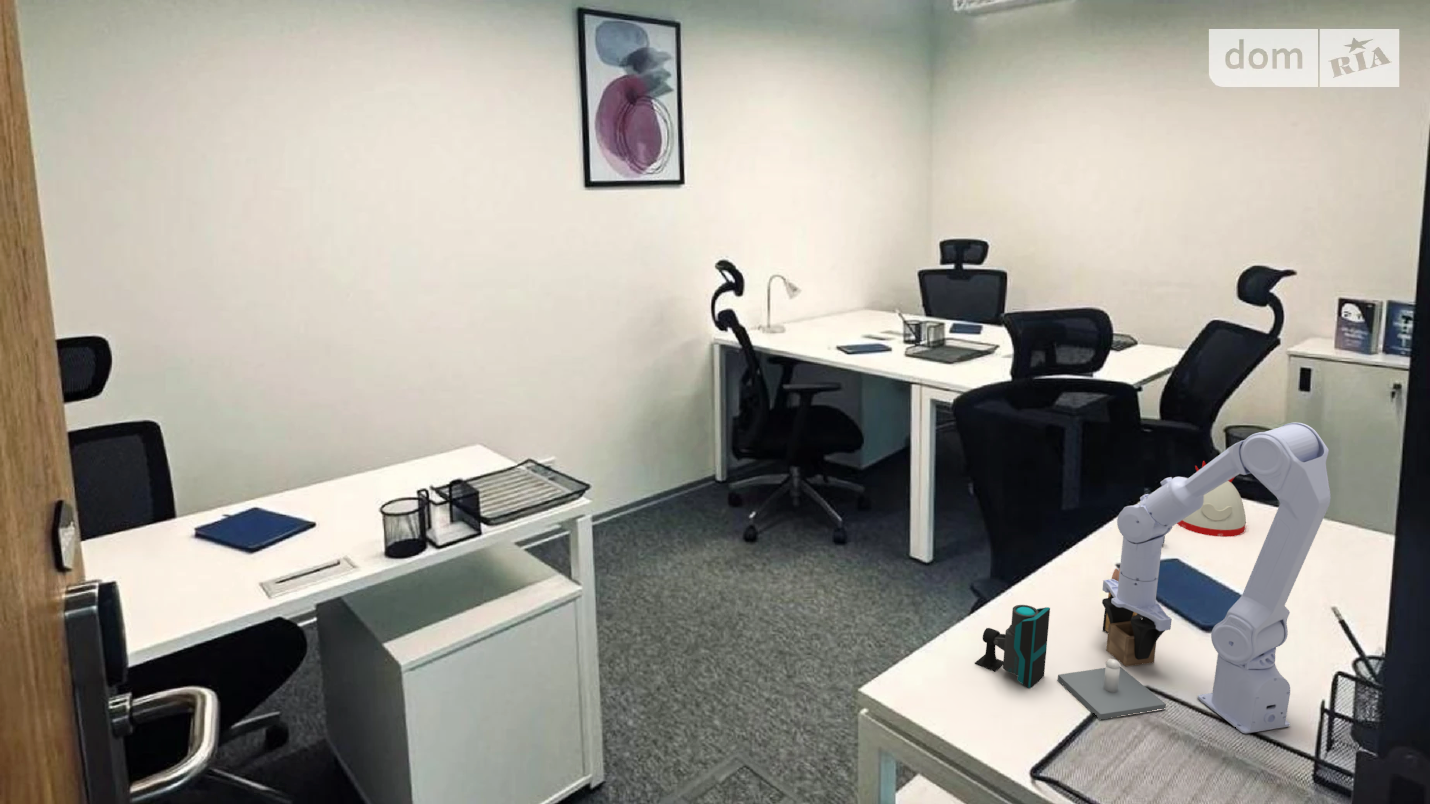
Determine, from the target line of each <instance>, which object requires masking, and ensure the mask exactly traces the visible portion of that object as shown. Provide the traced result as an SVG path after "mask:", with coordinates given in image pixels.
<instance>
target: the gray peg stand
mask: <svg viewBox="0 0 1430 804" xmlns="http://www.w3.org/2000/svg"><path fill="white" fill-rule="evenodd" d="M1057 681H1058V683H1059V684H1061V685H1062V686H1063V687H1064V688H1066V690H1067V691H1068V692H1069V693H1071V695H1073V696H1074V697H1075V698H1076V699H1077V700H1078V701H1079V702H1080V703H1081V704H1083V706H1084V707H1085V708H1087V710H1089V711H1090V712H1091V713H1092V714H1093V713H1095V715H1097V717H1098V718H1099V719H1105V720H1109V719H1108V718H1111V717H1117V716H1121V715H1128V714H1133V713H1140V712H1147V711H1152V710H1157V709H1164V708H1166V707H1167V703H1166V702H1165V701H1163V700H1162V699H1161V698H1159V696H1158V695H1156V694H1155V693H1153V692H1152V691H1151V690H1150V689H1148V688H1147V686H1145V685H1144V684H1143V683H1141V682H1140V681H1139V680H1137V678H1135V677H1134V676H1133V675H1132V674H1131V673H1129V672H1128V671H1127V670H1125V669H1124V668H1123V667H1122V666H1121V664H1120V662H1119V661H1118V660H1117V659H1116V658H1110V659H1108V660H1107V661H1106V662H1105V667H1102V668H1096V669H1095V668H1094V669H1089V670H1088V669H1087V670H1081V671H1074V672H1068V673H1067V672H1066V673H1061V674H1057ZM1095 715H1094V716H1095ZM1097 717H1096V718H1097ZM1098 718H1097V719H1098ZM1117 718H1118V717H1117ZM1099 719H1098V720H1099ZM1111 719H1112V718H1111Z"/></svg>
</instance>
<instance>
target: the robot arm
mask: <svg viewBox="0 0 1430 804" xmlns="http://www.w3.org/2000/svg"><path fill="white" fill-rule="evenodd" d="M1329 452H1330V450H1329V448H1328V446H1327V444H1325V442H1324V440H1323V439H1322V438H1321V437H1320V435H1319V433H1318V432H1317V431H1316V430H1315V429H1314V428H1313V427H1311V426H1309V425H1308V424H1305V423H1304V422H1303V423H1302V422H1295V421H1294V422H1290V423H1286V424H1283V425H1282V426H1280V427H1277V428H1273V429H1270V430H1266V431H1260V432H1255V433H1252V434H1251V435H1249V436H1248V437H1246V438H1245V439H1244V440H1240V441H1237V442H1236V443H1234V444H1232V445H1231V446H1229V447H1227V448H1226V449H1225V450H1224V451H1223V452H1221V453H1220V454H1219V455H1217V456H1216V457H1214V458H1213V459H1212V460H1211V461H1209V462H1208V463H1206V465H1205V466H1204V467H1203V468H1202V467H1201V468H1200V469H1199V471H1196V472H1195V473H1193V474H1192V475H1191V476H1190V477H1185V476H1175V477H1172V476H1170V477H1166V478H1164V479H1163V480H1161V481H1160V485H1161V486H1160V487H1159V488H1157V489H1156V490H1155V491H1153V492H1150V493H1151V494H1150V493H1147V494H1146V493H1145V494H1143V495H1142V496H1140V497H1139V499H1140V502H1139V503H1138V504H1137V503H1136V504H1134V505H1127V506H1124V507H1123V509H1122V510H1121V511H1120V512H1119V514H1118V516H1117V519H1116V522H1117V529H1118V531H1119V532H1120V534H1121V536H1122V545H1121V555H1120V562H1119V568H1120V572H1119V582H1118V581H1116V580H1115V579H1112V578H1110V579H1104V580H1102V581H1103V582H1102V591H1103V592H1105V593H1108V594H1109V592H1110V593H1111V595H1110V596H1109V598H1108V597H1106V598H1102V600H1101V601H1102V602H1101V604H1102V605H1103V607H1104V611H1105V610H1106V612H1107V615H1108V618H1109V621H1110V624H1111V623H1119V622H1126V621H1130V623H1131V625H1132V628H1133V631H1134V638H1135V647H1134V652H1135V658H1136V659H1138V660H1140V659H1147V658H1149V656H1150V653H1151V651H1152V649H1153V647H1154V645H1155V643H1156V644H1157V641H1158V640H1159V638H1160V637H1161V636H1162V635H1163V634H1164V632H1165V631H1170V630H1171V628H1172V627H1171V626H1172V621H1173V620H1172V619H1173V618H1172V617H1170V616H1169V615H1167V613H1166V612H1165V610H1164V609H1163V608H1162V606H1161V605H1160V604H1159V602H1158V601H1157V591H1158V582H1159V575H1160V564H1161V556H1162V548H1163V546H1162V544H1163V541H1164V542H1165V540H1164V536H1165V537H1166V535H1168V534H1169V533H1170V532H1171V530H1172V528H1173V527H1174V526H1175V525H1176V524H1177V523H1178V522H1180V521H1181V520H1183V519H1185V518H1186V517H1188V516H1189V515H1191V514H1192V513H1194V512H1195V511H1197V510H1199V509H1200V508H1201V507H1202V506H1203V502H1204V495H1205V494H1207V493H1208V492H1210V491H1212V490H1213V489H1215V488H1217V487H1218V486H1220V485H1222V484H1223V483H1225V482H1227V481H1228V480H1230V479H1232V478H1233V477H1236V476H1239V475H1243V476H1245V475H1246V476H1247V475H1249V474H1252V475H1253V476H1254V477H1255V478H1256V479H1257V480H1258V481H1259V482H1260V483H1261V484H1262V485H1263V486H1264V487H1265V488H1267V490H1268V491H1269V492H1271V494H1272V495H1274V496H1275V497H1276V498H1277V500H1278V501H1279V505H1278V508H1277V510H1276V513H1275V514H1274V517H1273V521H1272V523H1271V524H1270V528H1269V530H1268V533H1267V535H1266V536H1265V539H1264V542H1263V544H1262V546H1261V549H1260V550H1259V554H1258V555H1257V558H1256V561H1255V563H1254V566H1253V568H1252V571H1251V573H1250V576H1249V578H1248V581H1247V583H1246V584H1245V588H1244V589H1243V593H1242V594H1241V596H1240V597H1239V598H1238V599H1237V601H1236V602H1235V603H1233V605H1231V607H1230V608H1229V609H1228V611H1227V612H1226V614H1225V617H1224V618H1223V620H1221V621H1219V622H1218V623H1216V624H1215V625H1214V626H1213V628H1212V630H1211V635H1210V636H1211V637H1210V638H1211V643H1212V646H1213V647H1214V650H1215V651H1216V653H1217V660H1216V664H1215V665H1216V666H1215V672H1214V673H1215V674H1214V680H1213V687H1212V692H1209V693H1202V694H1198V695H1197V699H1198V700H1199V701H1201V702H1202V703H1203V704H1205V705H1206V706H1207V707H1208V708H1209V709H1211V710H1212V711H1213V712H1215V713H1216V714H1218V715H1219V716H1220V717H1221V718H1222V719H1224V720H1225V721H1226V722H1228V723H1229V724H1230V725H1232V726H1233V727H1234V728H1235V727H1236V729H1237V730H1238V731H1239V732H1241V733H1242V734H1252V733H1257V732H1264V731H1269V730H1275V729H1281V728H1287V727H1290V726H1291V725H1290V724H1291V723H1290V722H1289V721H1288V720H1287V715H1288V709H1289V708H1288V707H1289V702H1290V695H1291V686H1290V683H1289V681H1288V680H1287V679H1286V678H1285V677H1284V676H1283V675H1282V674H1281V673H1280V671H1279V670H1278V668H1277V666H1276V651H1277V648H1279V647H1280V646H1282V645H1283V644H1284V643H1285V642H1286V641H1287V638H1288V635H1289V632H1288V623H1287V621H1288V619H1289V616H1290V613H1291V612H1290V610H1289V608H1287V606H1286V605H1287V604H1286V603H1287V601H1288V598H1289V597H1290V594H1291V593H1292V589H1293V587H1294V585H1295V584H1296V581H1297V579H1298V577H1299V574H1300V572H1301V570H1302V567H1303V565H1304V563H1305V560H1306V559H1307V557H1308V553H1309V551H1310V549H1311V547H1312V545H1313V543H1314V541H1315V538H1316V535H1317V534H1318V531H1319V529H1320V527H1321V525H1322V523H1323V520H1324V519H1325V516H1326V513H1327V511H1328V509H1329V506H1330V504H1331V490H1330V489H1331V488H1330V483H1329V476H1328V469H1327V459H1328V456H1329ZM1177 525H1178V524H1177ZM1163 545H1164V544H1163ZM1134 612H1135V613H1138V614H1140V615H1142V618H1141V619H1135V620H1131V618H1132V615H1133V613H1134Z"/></svg>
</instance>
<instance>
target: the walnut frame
mask: <svg viewBox="0 0 1430 804" xmlns="http://www.w3.org/2000/svg"><path fill="white" fill-rule="evenodd" d="M1105 646H1106V647H1105V648H1106V649H1105V651H1106V652H1107V653H1108V654H1110V655H1111V656H1112V657H1113V659H1115V660H1117V661H1118V662H1119V663H1121V664H1122V665H1123V666H1124V667H1128V668H1129V667H1134V666H1140V665H1147V664H1153V663H1155V658H1156V647H1157V642H1156V643H1155V645H1154V647H1153V649H1152V651H1151V653H1150V656H1149V658H1147V659H1140V660H1138V659H1136V658H1135V652H1134V647H1135V638H1134V631H1133V628H1132V625H1131V623H1130V621H1126V622H1119V623H1111V624H1109V627H1108V633H1107V639H1106V645H1105Z"/></svg>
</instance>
